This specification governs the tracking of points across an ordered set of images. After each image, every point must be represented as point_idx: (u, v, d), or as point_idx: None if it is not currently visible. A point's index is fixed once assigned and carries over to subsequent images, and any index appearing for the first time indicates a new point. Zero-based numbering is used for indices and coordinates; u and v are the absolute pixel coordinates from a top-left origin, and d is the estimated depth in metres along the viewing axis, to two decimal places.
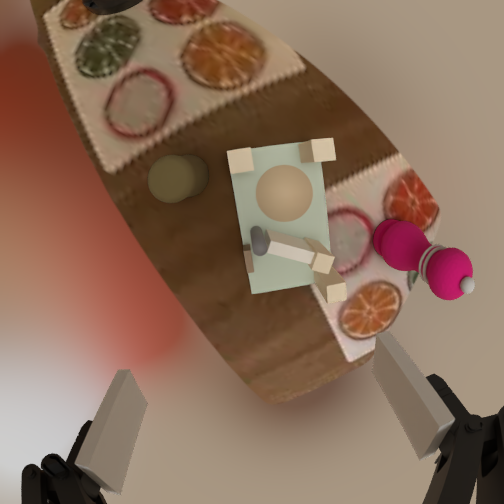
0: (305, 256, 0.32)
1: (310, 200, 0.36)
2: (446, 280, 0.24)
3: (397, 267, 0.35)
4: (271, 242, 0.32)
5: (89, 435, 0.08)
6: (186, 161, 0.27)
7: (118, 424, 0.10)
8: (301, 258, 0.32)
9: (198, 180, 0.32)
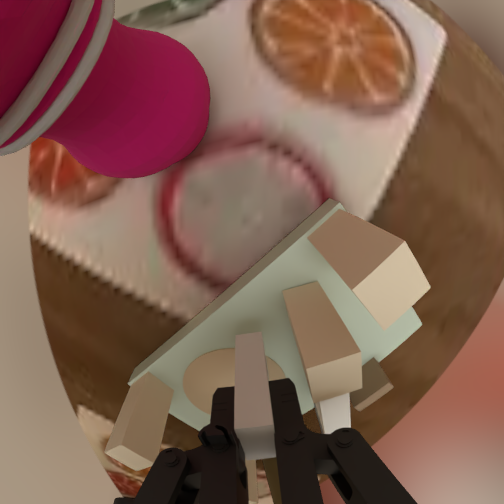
0: None
1: (214, 353, 0.17)
2: None
3: (190, 87, 0.09)
4: None
5: (238, 397, 0.10)
6: None
7: None
8: (341, 396, 0.12)
9: None
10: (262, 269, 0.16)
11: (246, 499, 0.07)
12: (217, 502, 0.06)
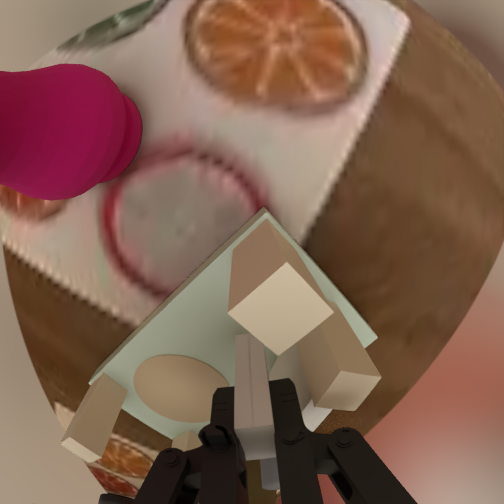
0: None
1: (156, 358, 0.17)
2: None
3: (92, 116, 0.09)
4: None
5: (238, 397, 0.10)
6: None
7: None
8: (322, 412, 0.12)
9: None
10: (192, 280, 0.16)
11: (246, 499, 0.07)
12: (217, 502, 0.06)
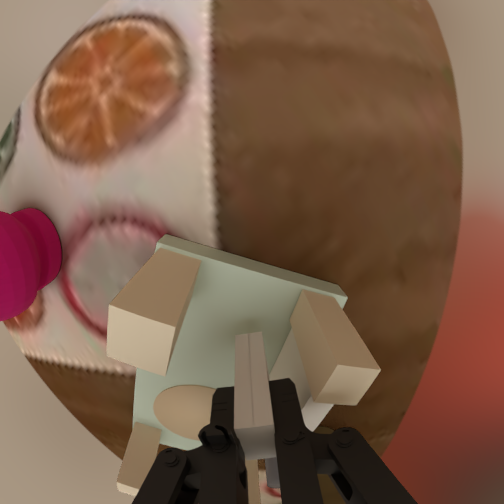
0: None
1: (160, 395, 0.19)
2: None
3: None
4: None
5: (238, 397, 0.10)
6: None
7: None
8: (324, 407, 0.12)
9: None
10: None
11: (246, 499, 0.07)
12: (217, 502, 0.06)
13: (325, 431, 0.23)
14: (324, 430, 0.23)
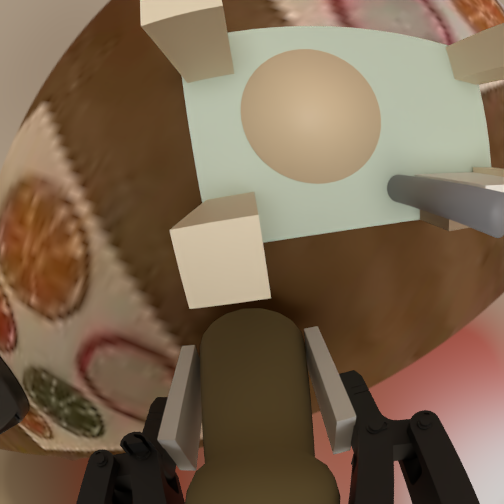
0: None
1: (328, 56, 0.12)
2: None
3: None
4: None
5: (168, 409, 0.10)
6: (203, 502, 0.05)
7: (191, 397, 0.12)
8: None
9: (271, 386, 0.10)
10: None
11: (181, 503, 0.07)
12: None
13: None
14: None
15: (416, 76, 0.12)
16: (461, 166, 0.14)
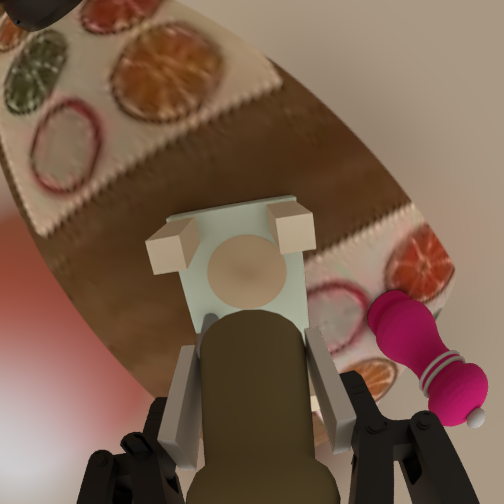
0: None
1: (283, 281, 0.27)
2: (451, 414, 0.14)
3: None
4: None
5: (168, 409, 0.10)
6: (203, 503, 0.05)
7: (191, 397, 0.12)
8: None
9: (271, 388, 0.10)
10: None
11: (181, 503, 0.07)
12: None
13: None
14: None
15: None
16: None
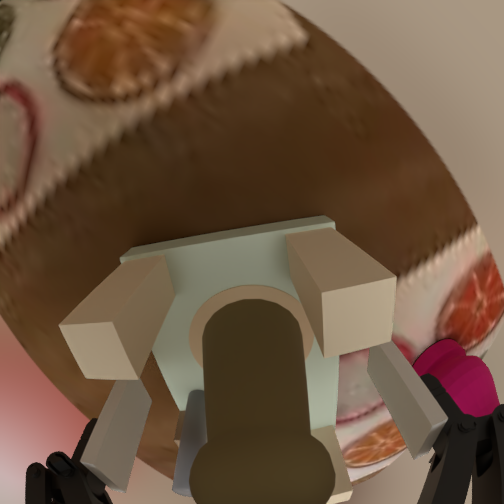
0: None
1: (307, 350, 0.17)
2: None
3: None
4: None
5: (94, 433, 0.08)
6: (206, 475, 0.06)
7: (123, 421, 0.10)
8: None
9: (269, 369, 0.11)
10: None
11: None
12: None
13: None
14: None
15: None
16: None
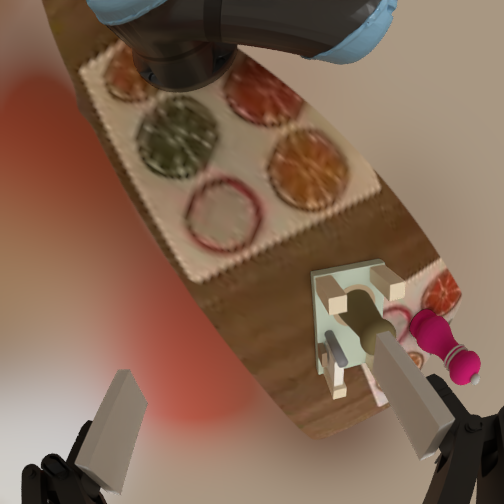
0: (338, 381, 0.40)
1: None
2: (462, 376, 0.30)
3: (427, 351, 0.41)
4: None
5: (89, 435, 0.08)
6: (371, 330, 0.32)
7: (118, 424, 0.10)
8: (336, 380, 0.40)
9: (372, 308, 0.37)
10: None
11: None
12: None
13: None
14: None
15: None
16: None
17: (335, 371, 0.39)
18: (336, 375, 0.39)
